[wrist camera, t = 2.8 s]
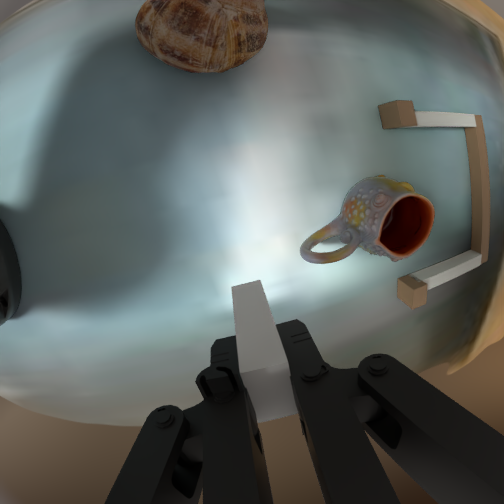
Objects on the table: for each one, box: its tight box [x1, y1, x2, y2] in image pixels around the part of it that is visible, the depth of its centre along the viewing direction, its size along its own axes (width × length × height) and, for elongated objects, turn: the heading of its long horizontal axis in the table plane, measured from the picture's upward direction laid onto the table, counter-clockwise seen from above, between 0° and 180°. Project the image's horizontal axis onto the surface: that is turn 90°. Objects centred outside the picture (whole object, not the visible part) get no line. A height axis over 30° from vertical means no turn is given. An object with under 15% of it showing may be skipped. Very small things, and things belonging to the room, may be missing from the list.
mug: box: [300, 175, 435, 264], centre depth 22 cm, size 12×7×7 cm, turn 110°
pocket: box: [378, 100, 490, 309], centre depth 24 cm, size 16×21×3 cm
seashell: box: [135, 0, 268, 73], centre depth 16 cm, size 10×9×10 cm
